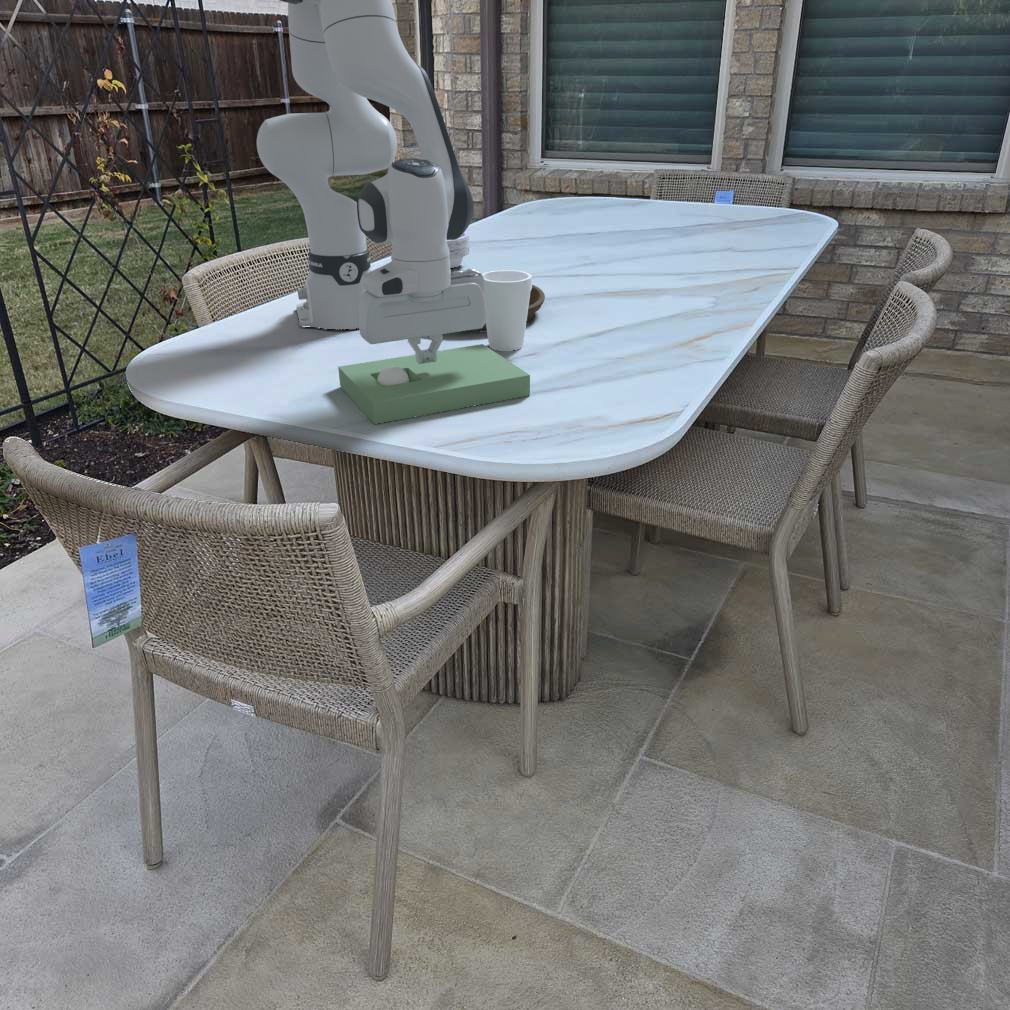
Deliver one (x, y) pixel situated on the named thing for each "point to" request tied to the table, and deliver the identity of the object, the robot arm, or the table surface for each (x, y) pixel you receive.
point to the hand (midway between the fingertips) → (426, 362)
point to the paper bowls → (458, 249)
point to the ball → (392, 376)
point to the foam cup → (506, 307)
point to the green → (434, 383)
